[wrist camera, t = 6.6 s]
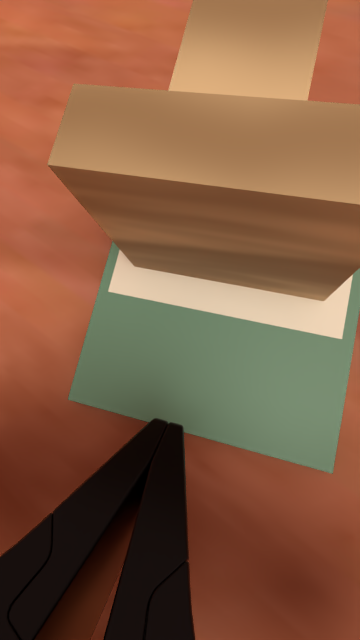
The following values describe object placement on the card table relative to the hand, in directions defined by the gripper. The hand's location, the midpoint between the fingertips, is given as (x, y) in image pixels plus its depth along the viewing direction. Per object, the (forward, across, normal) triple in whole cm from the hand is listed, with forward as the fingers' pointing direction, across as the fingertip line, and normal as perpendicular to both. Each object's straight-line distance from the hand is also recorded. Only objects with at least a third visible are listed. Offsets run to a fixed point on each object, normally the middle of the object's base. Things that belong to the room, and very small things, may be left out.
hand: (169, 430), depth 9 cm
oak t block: (+11, 0, -3) cm, 12 cm away
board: (+9, 0, -1) cm, 9 cm away
